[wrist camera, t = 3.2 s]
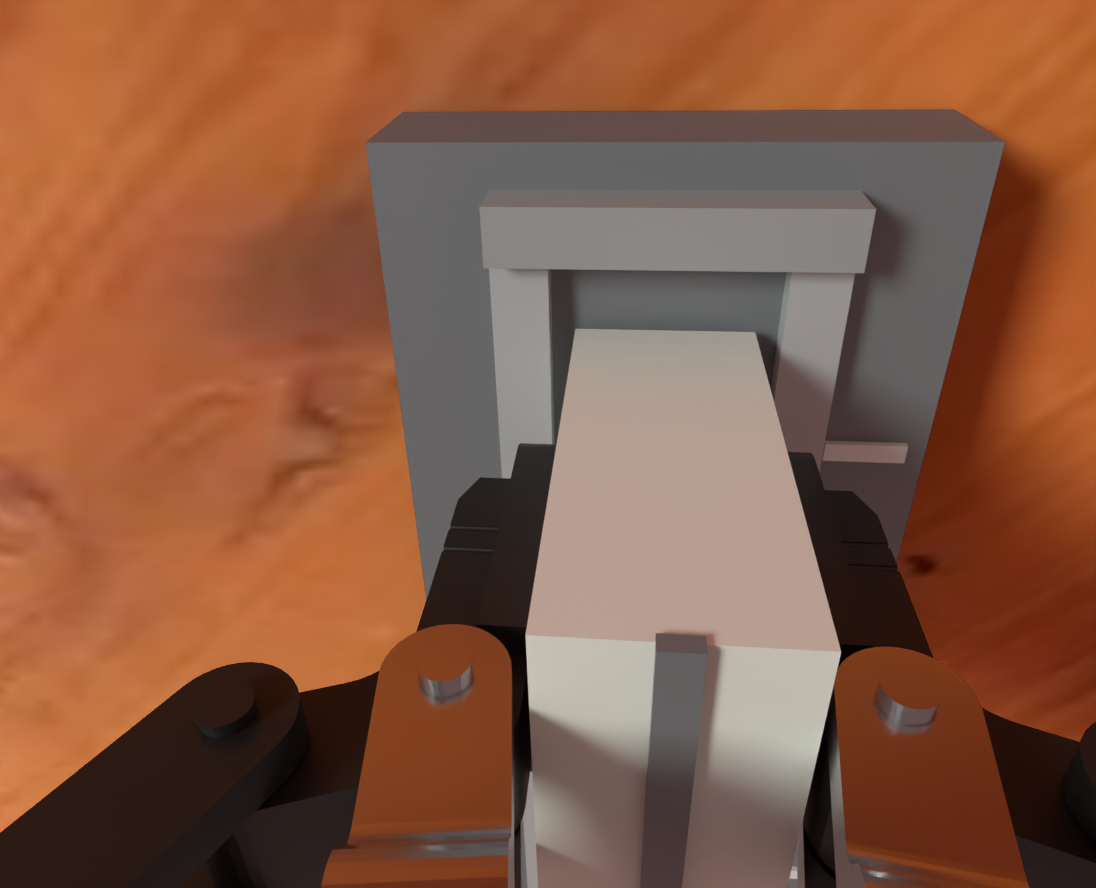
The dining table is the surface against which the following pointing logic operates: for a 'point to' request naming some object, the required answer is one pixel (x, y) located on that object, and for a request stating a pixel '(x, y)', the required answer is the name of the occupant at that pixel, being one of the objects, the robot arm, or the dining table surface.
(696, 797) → the fader tab
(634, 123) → the fader console
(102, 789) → the robot arm
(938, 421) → the dining table surface
